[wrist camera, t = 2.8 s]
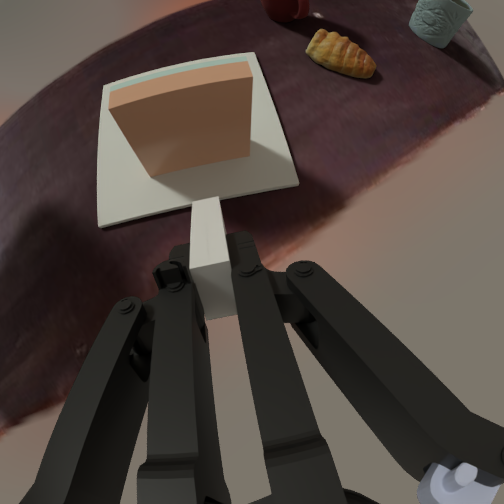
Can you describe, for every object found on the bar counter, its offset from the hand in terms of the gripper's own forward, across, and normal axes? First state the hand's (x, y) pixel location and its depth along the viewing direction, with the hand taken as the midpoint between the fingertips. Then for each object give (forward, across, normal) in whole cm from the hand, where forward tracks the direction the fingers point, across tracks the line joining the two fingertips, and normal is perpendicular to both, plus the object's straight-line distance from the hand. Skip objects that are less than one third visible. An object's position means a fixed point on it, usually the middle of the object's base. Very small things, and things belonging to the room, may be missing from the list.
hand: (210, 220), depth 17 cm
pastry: (+24, +20, +10) cm, 33 cm away
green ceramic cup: (+32, +45, +18) cm, 58 cm away
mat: (+18, -2, +4) cm, 18 cm away
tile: (+14, -1, +1) cm, 14 cm away
